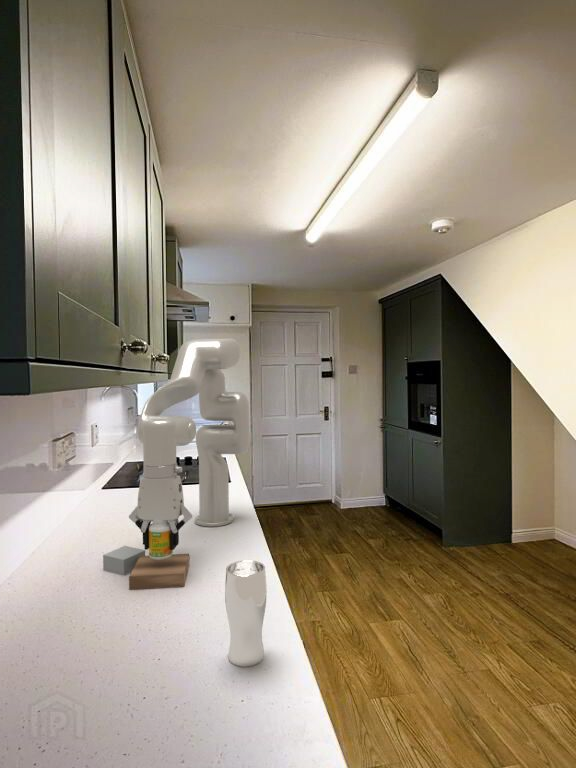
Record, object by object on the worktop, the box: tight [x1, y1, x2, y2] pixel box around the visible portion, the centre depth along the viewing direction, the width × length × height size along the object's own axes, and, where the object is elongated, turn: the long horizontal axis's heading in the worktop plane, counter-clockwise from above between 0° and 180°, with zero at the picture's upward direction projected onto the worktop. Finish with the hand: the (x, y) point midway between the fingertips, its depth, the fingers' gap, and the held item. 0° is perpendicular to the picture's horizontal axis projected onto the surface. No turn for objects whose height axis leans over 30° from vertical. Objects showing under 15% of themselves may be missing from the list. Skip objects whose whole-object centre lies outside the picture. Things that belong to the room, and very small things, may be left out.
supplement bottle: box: [148, 520, 174, 560], centre depth 110 cm, size 5×5×10 cm
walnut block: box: [128, 553, 191, 591], centre depth 110 cm, size 12×12×3 cm
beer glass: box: [224, 559, 267, 668], centre depth 79 cm, size 7×7×15 cm
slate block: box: [102, 545, 146, 576], centre depth 116 cm, size 7×7×4 cm
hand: (160, 547), depth 110 cm, fingers closed on supplement bottle, 5 cm apart
